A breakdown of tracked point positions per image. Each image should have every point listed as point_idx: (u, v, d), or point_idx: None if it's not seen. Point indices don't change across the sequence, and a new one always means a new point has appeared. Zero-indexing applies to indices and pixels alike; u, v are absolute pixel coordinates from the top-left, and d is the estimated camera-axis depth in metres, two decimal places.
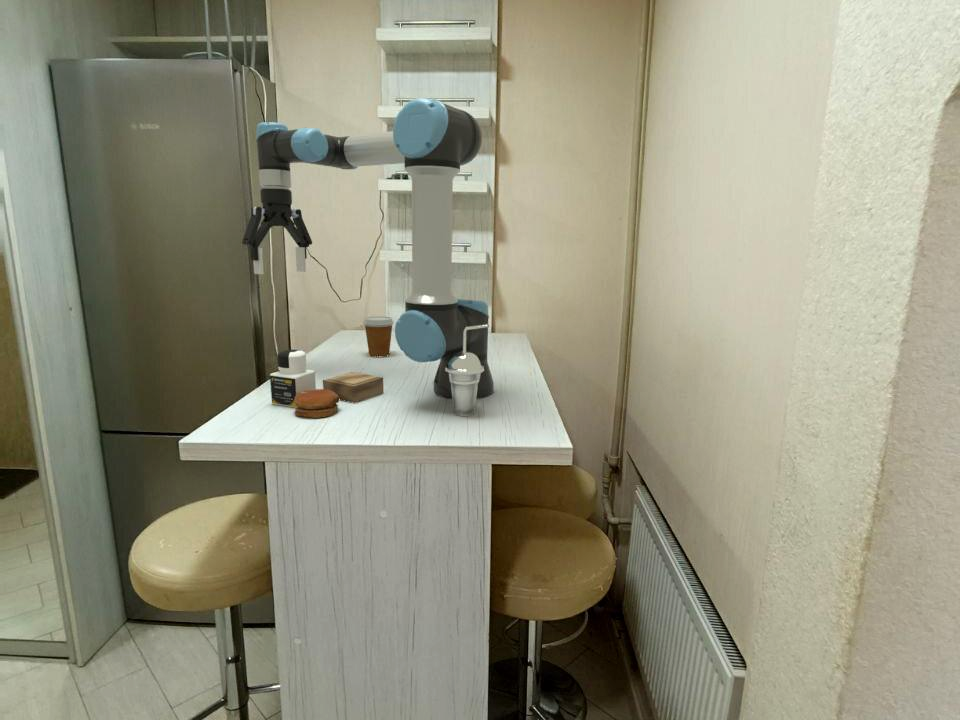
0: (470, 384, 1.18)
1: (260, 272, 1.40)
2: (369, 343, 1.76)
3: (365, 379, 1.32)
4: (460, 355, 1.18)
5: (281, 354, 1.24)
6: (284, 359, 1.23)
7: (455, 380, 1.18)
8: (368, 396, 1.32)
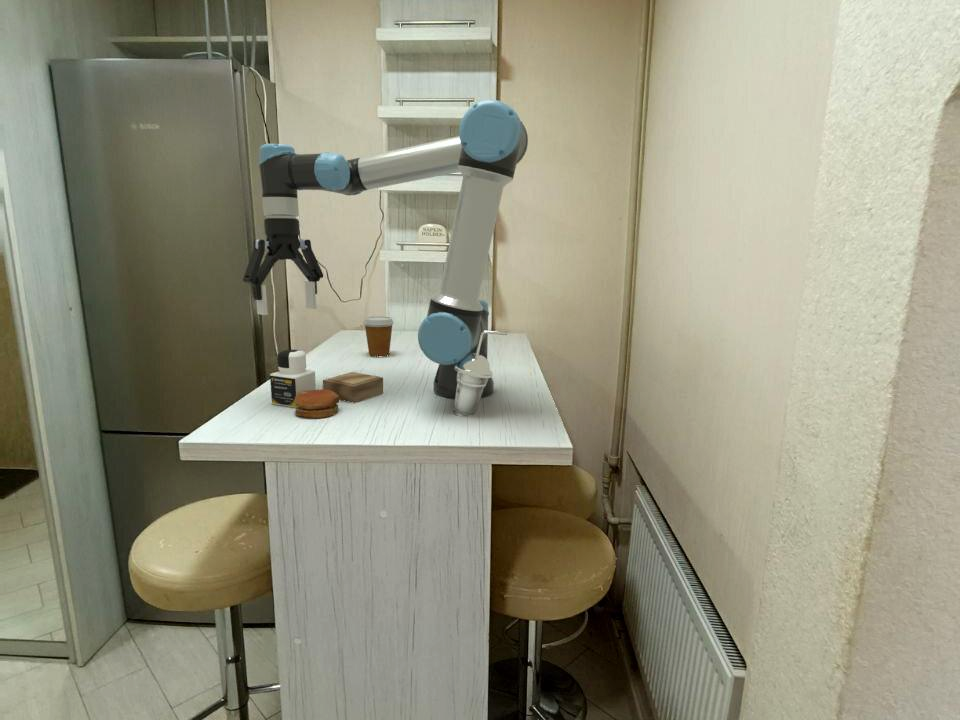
0: (477, 387, 1.18)
1: (264, 313, 1.24)
2: (369, 343, 1.76)
3: (365, 379, 1.32)
4: (473, 357, 1.18)
5: (281, 354, 1.24)
6: (284, 359, 1.23)
7: (463, 380, 1.18)
8: (368, 396, 1.32)
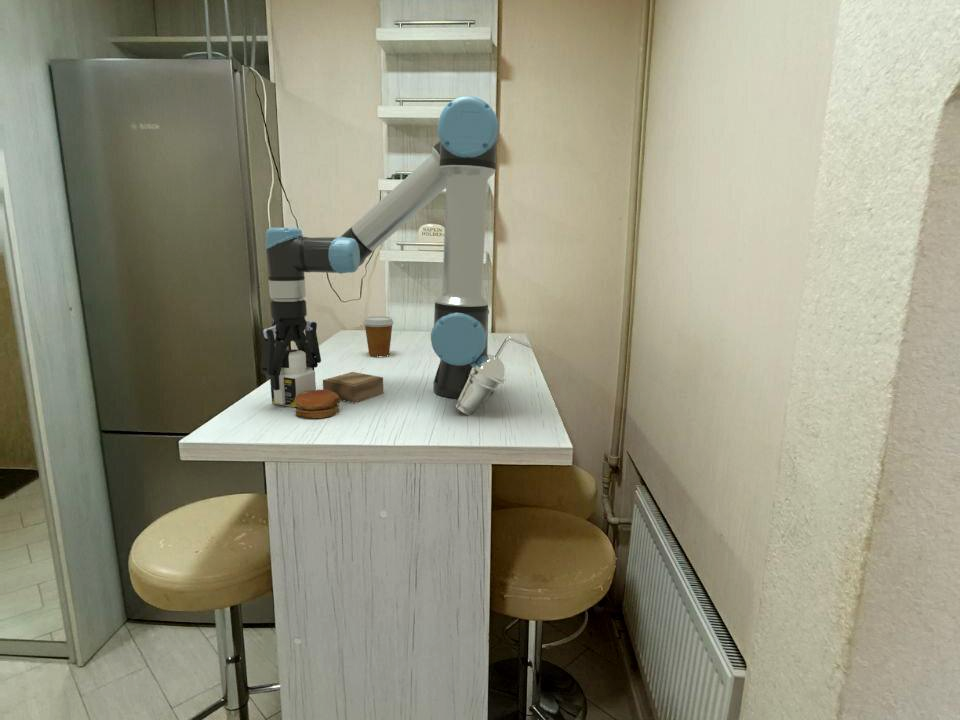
0: (487, 389, 1.19)
1: (281, 402, 1.24)
2: (369, 343, 1.76)
3: (365, 379, 1.32)
4: (492, 359, 1.18)
5: None
6: (284, 359, 1.23)
7: (476, 378, 1.18)
8: (368, 396, 1.32)
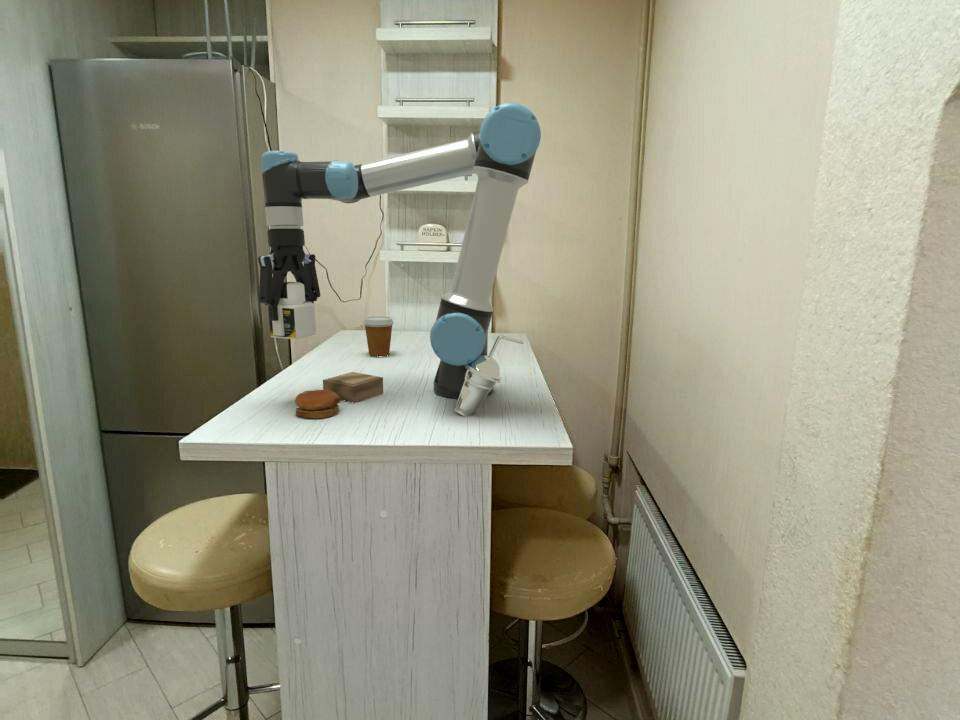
0: (485, 389, 1.19)
1: (280, 333, 1.21)
2: (369, 343, 1.76)
3: (365, 379, 1.32)
4: (486, 359, 1.19)
5: None
6: (283, 289, 1.20)
7: (473, 380, 1.18)
8: (368, 396, 1.32)
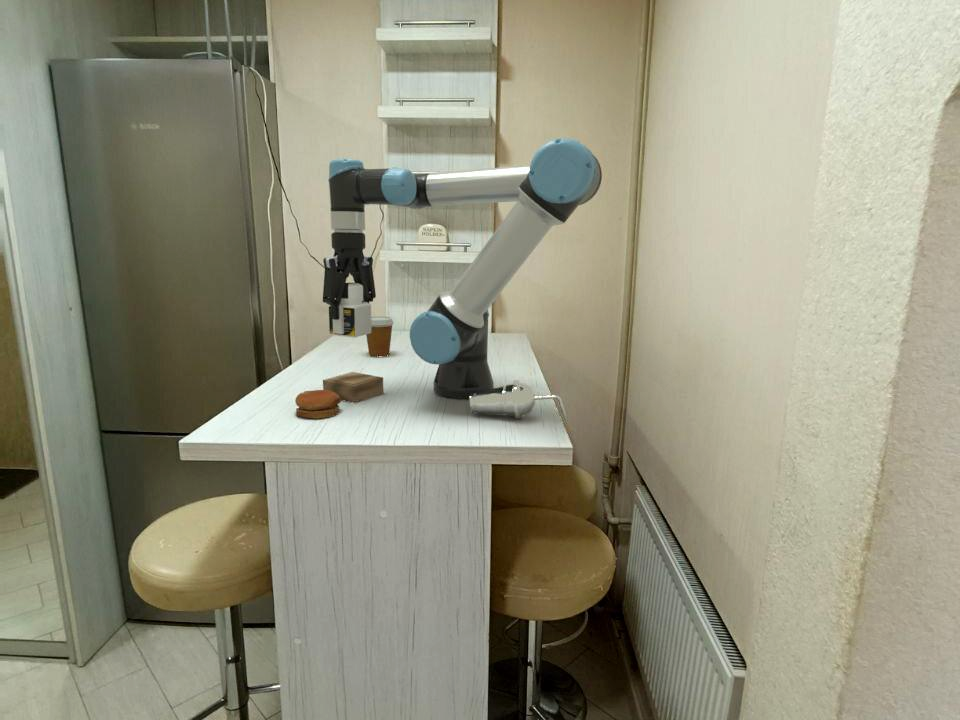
0: (504, 413, 1.18)
1: (340, 332, 1.27)
2: (369, 343, 1.76)
3: (365, 379, 1.32)
4: (531, 400, 1.16)
5: None
6: (344, 289, 1.26)
7: (506, 401, 1.16)
8: (368, 396, 1.32)
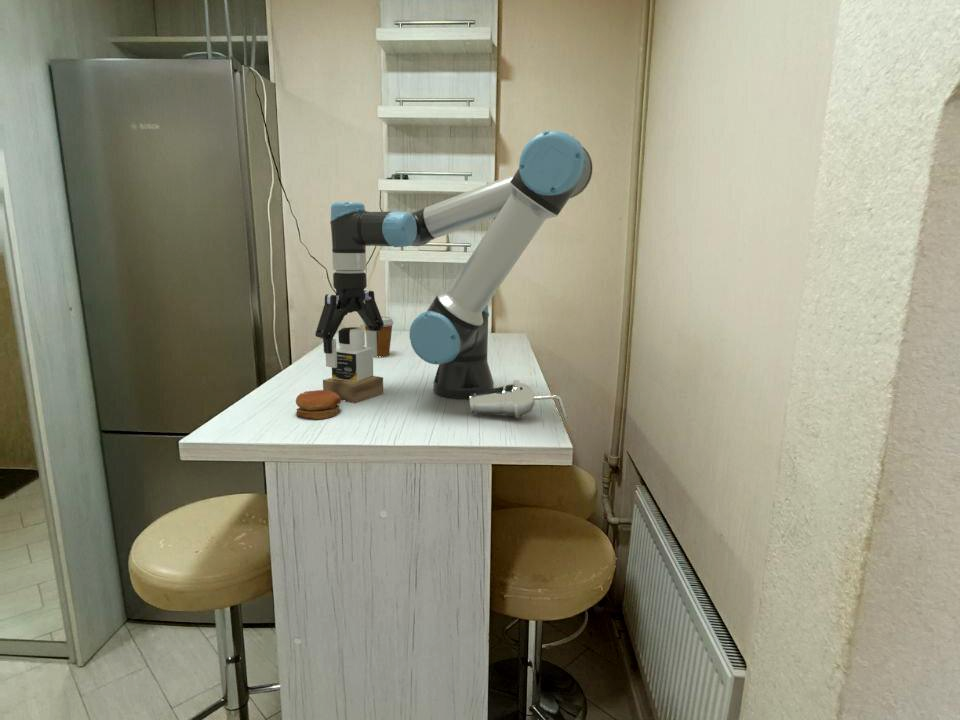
0: (504, 413, 1.18)
1: (333, 365, 1.26)
2: None
3: (365, 379, 1.32)
4: (531, 400, 1.16)
5: (342, 331, 1.29)
6: (346, 335, 1.29)
7: (505, 401, 1.16)
8: (368, 396, 1.32)
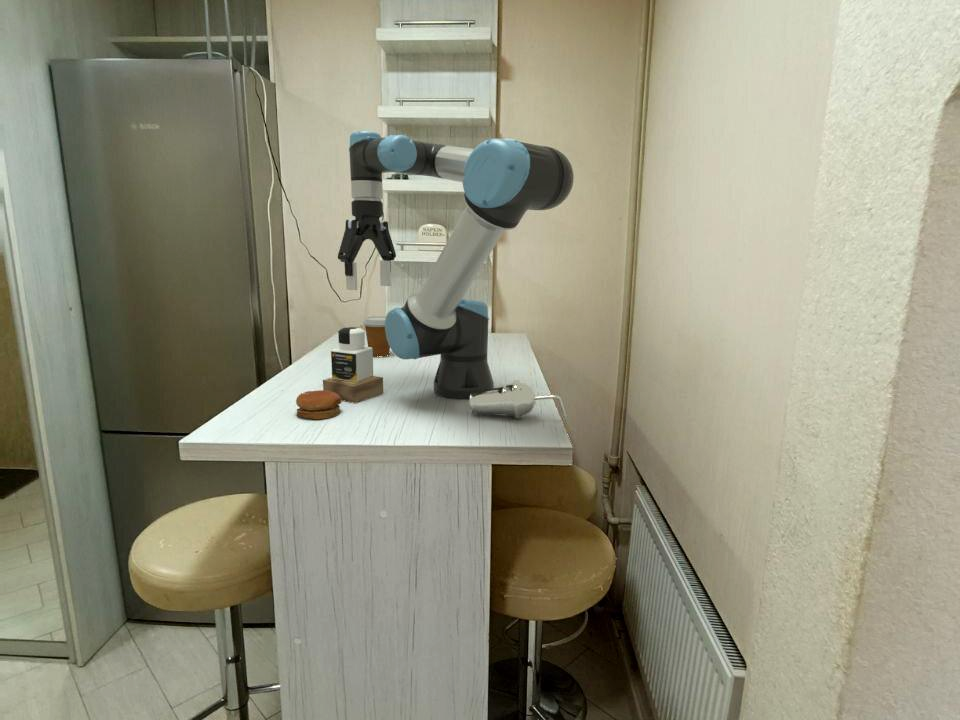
0: (504, 413, 1.18)
1: (354, 288, 1.33)
2: (369, 343, 1.76)
3: (365, 379, 1.32)
4: (531, 400, 1.16)
5: (342, 331, 1.29)
6: (346, 335, 1.29)
7: (505, 401, 1.16)
8: (368, 396, 1.32)
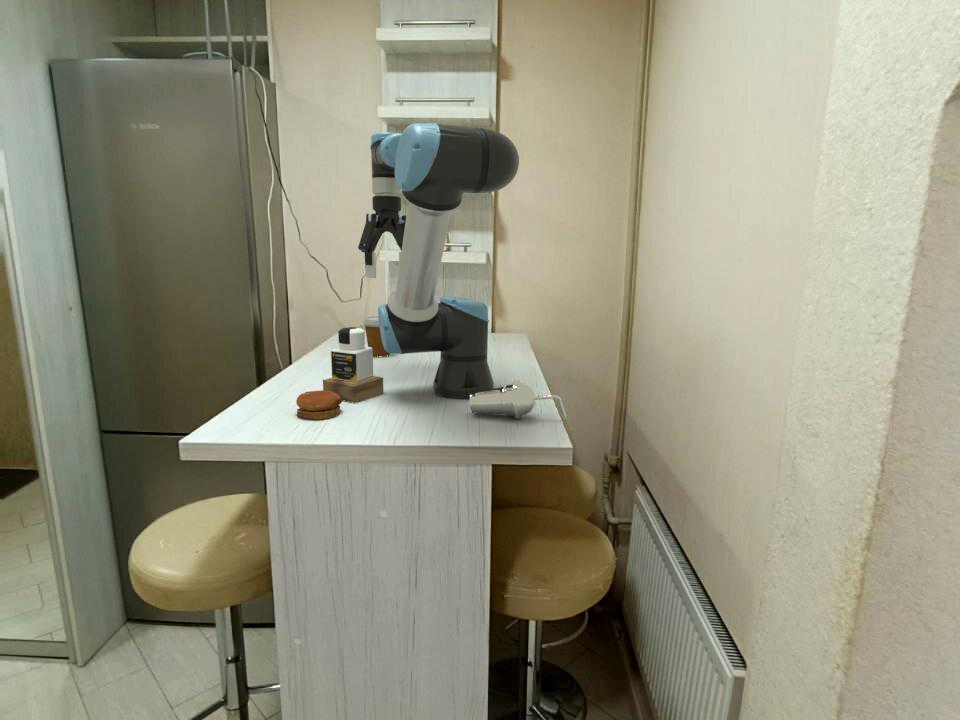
0: (504, 413, 1.18)
1: (373, 276, 1.45)
2: (369, 343, 1.76)
3: (365, 379, 1.32)
4: (531, 400, 1.16)
5: (342, 331, 1.29)
6: (346, 335, 1.29)
7: (505, 401, 1.16)
8: (368, 396, 1.32)
